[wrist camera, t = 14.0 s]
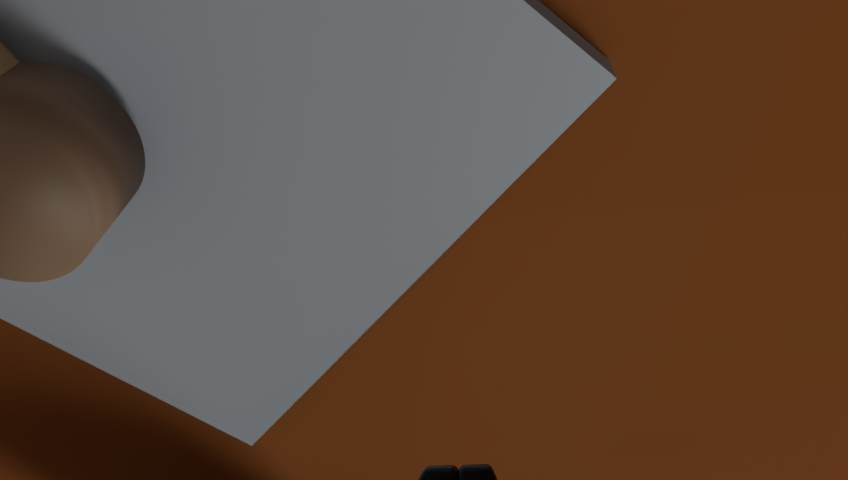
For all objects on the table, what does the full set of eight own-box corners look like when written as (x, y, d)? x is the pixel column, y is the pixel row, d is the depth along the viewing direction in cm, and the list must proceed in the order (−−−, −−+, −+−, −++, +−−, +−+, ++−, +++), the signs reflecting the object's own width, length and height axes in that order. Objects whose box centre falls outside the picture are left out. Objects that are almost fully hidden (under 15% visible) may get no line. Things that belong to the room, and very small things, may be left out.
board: (260, 419, 27) (250, 450, 26) (-335, 110, 21) (-382, 131, 20) (610, 59, 18) (619, 80, 17) (-245, -663, 12) (-323, -706, 11)
